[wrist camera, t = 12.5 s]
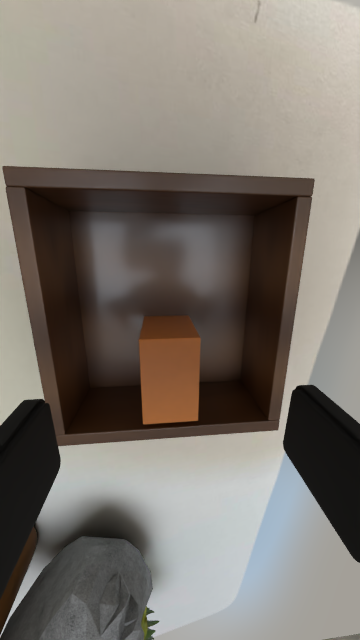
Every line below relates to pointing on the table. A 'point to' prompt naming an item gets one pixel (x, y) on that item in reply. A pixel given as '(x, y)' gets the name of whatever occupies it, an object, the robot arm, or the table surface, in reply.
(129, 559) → the potted plant
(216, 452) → the table surface
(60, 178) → the holder
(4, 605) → the mug
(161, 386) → the packet orange
